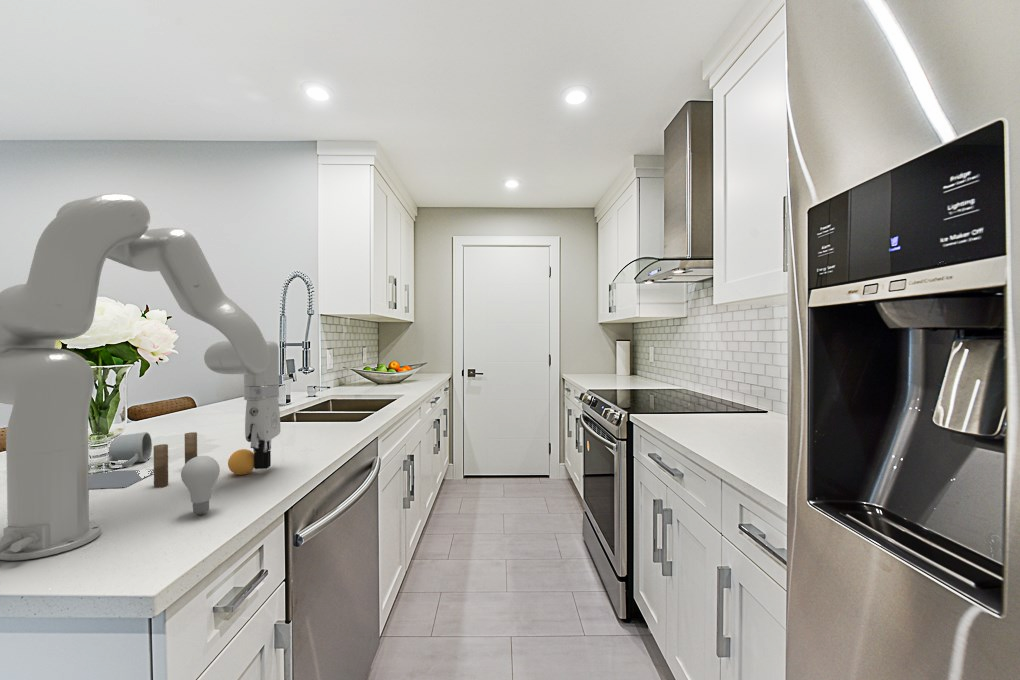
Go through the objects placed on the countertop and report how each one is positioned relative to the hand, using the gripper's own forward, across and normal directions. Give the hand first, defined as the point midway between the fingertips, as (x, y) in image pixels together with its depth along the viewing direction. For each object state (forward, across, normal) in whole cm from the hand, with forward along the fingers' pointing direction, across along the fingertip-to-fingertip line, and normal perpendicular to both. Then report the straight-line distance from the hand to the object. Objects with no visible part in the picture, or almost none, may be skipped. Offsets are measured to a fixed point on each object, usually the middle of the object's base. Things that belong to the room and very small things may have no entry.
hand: (262, 467), depth 116 cm
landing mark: (+1, -1, +33) cm, 33 cm away
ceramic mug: (+2, +14, +38) cm, 41 cm away
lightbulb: (+2, -26, +1) cm, 26 cm away
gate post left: (+1, -7, +19) cm, 20 cm away
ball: (-2, 0, +5) cm, 5 cm away
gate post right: (+1, +6, +19) cm, 20 cm away
